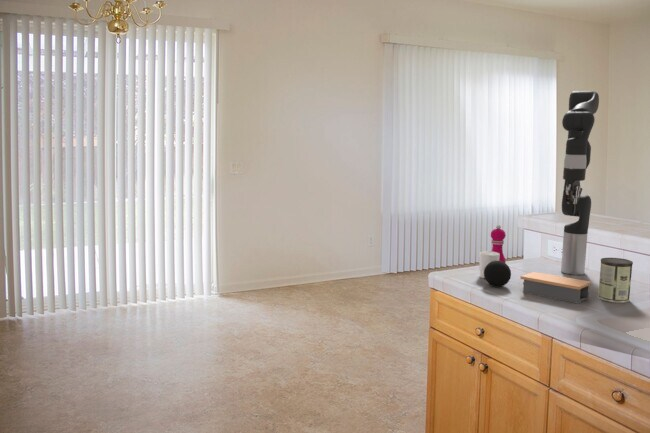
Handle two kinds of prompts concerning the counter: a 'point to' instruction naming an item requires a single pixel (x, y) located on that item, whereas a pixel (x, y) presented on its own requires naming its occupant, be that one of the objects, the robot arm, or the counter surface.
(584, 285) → the brown flat rectangular panel
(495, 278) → the speaker
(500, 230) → the pepper mill
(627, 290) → the coffee can
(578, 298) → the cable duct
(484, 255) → the white cup
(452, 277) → the counter surface
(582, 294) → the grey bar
